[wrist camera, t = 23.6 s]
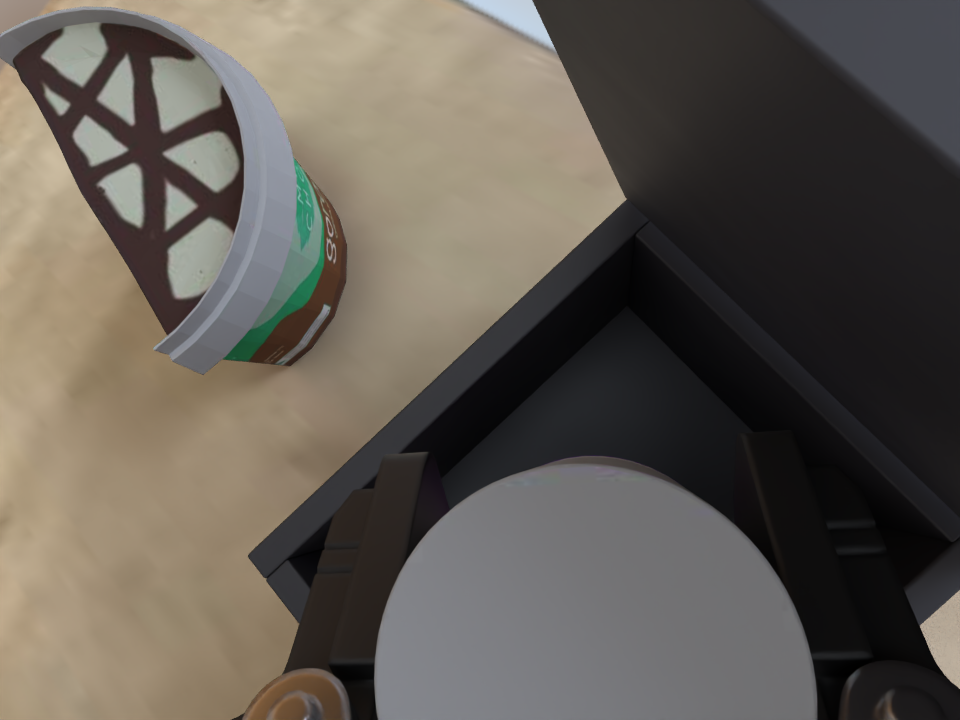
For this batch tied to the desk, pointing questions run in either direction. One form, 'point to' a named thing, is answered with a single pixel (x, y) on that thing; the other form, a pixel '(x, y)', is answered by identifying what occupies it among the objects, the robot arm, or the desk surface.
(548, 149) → the desk surface
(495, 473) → the dark grey open box
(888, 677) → the robot arm
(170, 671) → the desk surface
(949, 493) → the lid
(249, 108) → the food container
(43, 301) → the desk surface
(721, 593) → the container
